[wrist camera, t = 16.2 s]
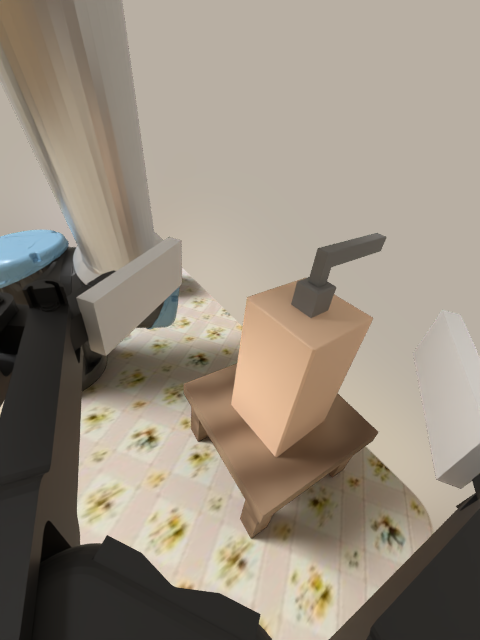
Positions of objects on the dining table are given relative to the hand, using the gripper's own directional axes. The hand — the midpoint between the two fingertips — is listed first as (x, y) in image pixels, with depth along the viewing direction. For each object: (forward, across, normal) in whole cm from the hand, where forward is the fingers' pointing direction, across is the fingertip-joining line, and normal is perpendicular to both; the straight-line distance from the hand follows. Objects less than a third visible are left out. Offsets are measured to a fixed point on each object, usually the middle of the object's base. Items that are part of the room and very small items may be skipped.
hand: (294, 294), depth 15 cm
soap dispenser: (+12, +2, -24) cm, 27 cm away
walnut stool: (+11, +1, -34) cm, 35 cm away
